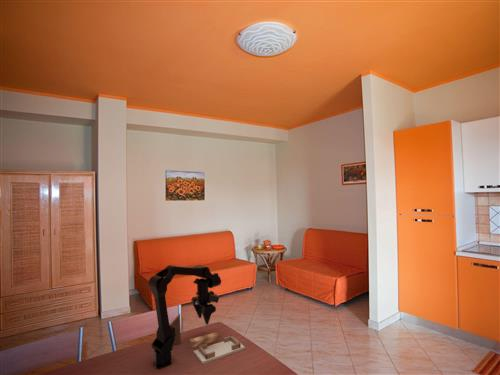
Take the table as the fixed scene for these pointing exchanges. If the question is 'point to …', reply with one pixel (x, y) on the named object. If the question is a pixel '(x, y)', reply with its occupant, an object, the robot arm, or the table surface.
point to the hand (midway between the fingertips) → (203, 321)
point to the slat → (203, 339)
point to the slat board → (218, 349)
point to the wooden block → (177, 329)
